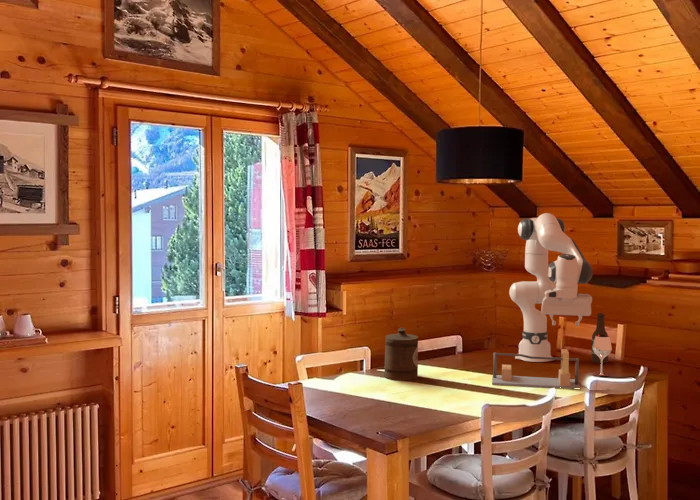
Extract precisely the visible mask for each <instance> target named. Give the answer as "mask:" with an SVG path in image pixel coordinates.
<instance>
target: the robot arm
mask: <svg viewBox="0 0 700 500" xmlns="http://www.w3.org/2000/svg"><path fill="white" fill-rule="evenodd" d="M565 232H566V227H565V222H564V220H563V219H561V218H557V217H556V216H555V215H554V214H552V213H549V212H545V213H542V214H540V215H539V216H538V217H531V218H528V217H527V218H523V219H521V220H520V221H519V224H518V226H517V233H518V237H519V238H520V239H521V240H524V241H526V242H525V249H524V268H525V270H526V271H527V273H530V275H532V276H534V277H536V281H533V280H532V281H530V280H529V281H525V280H524V281H523V280H521V281H517V282H513V283H512V284H511V285H510V287H509V291H508V294H509V297H510V299H511V301H512V302H514V303H515V304H516V305H517V306H518V307H519V308H520V311H521V313H522V317H523V318H522V319H523V330H522V339H521V340H520V342H519V343H518V353H517V354H523V355H527V356H532V357H553V356H552V355H551V343H550V342H549V341H548V335H549V334H548V330H547V329H548V327H547V325H548V324H547V322H548V318H547V315H549V318H550V319H551V325H552V326H556V325H557V321H556V320H554V315H555V316H557V315H558V316H577V317H578V320H577V321H576V320H575V324H574V326H575V327H580V322H581V321H582V320H583V317H590V316H591V315H592V302H593V296H592V295H590V294H589V293H582V292H581V293H579V292H578V286H579V285H580V284H581V285H585V284H587V283H589V281H590V280H591V279H592V278H593V267H592V265H591V264H590V263H589V262H588V260H587V259H586V258H585V256H584V255H583V253H582V251H581V250H580V248H579V246H578V245H577V243H576V242H575V240H574V239H573V238H571V237H569V236H568V235H567V234H566V233H565ZM550 251H551V252H558V253H561V254H559V255H558V256H557V259H556V260H555V261H552V262H550V263H549V252H550ZM578 284H579V285H578ZM536 304H538V305H540V304H541V306H540V307H541V308H540V309H541V310H539V309H537V308H536ZM514 359H515V360H516V359H517V360H522V361H524V362H533V363H535V362H536V363H544V362H546V363H547V362H551V361H553V360H549V359H530V358H526V357H522V356H514Z"/></svg>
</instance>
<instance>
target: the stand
mask: <svg viewBox="0 0 700 500" xmlns="http://www.w3.org/2000/svg"><path fill="white" fill-rule="evenodd" d="M497 353H498V352H493V358H492V359H493V362H492V363H493V368H492V369H493V370H492V371H493V372H492V373H493V374H492V376H491V377H492V380H491V384H492V385H491V386H506V387H507V386H508V387H527V388H541V389H542V388H546V389H552V388H551V387H555V388H554V389H559V388H560V387H561V388H580V389H581V386H580V383H579V376H580V375H579V373H580V369H579V366H580V359H579V358H578V357H577V358H575V359H576V361H574V362H575V365H574V370H575V371H574V378H571V373H570V370H569V369H568V374H562V371H561V368H560V369H558V377H555V378H554V377H541V376H539V377H538V376H524V375H522V376H521V375H512V364H501V374H498V375H497V361H498V360H497V359H498V355H497Z"/></svg>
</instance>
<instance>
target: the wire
mask: <svg viewBox="0 0 700 500" xmlns="http://www.w3.org/2000/svg"><path fill="white" fill-rule="evenodd" d="M496 353H497V356H506V357H507V356H509V357H515V356H522V357H526V358H530V359H549V360H552V361H561V360H563V358H561V357H553V356H552V357H532V356H527V355H523V354H518V353H505V352H502V353H501V352H496ZM569 361H570V362H571V361H574V362H575V361H576V359H575V358H572V357H571V358H570V357H569Z"/></svg>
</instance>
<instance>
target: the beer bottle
mask: <svg viewBox="0 0 700 500" xmlns="http://www.w3.org/2000/svg"><path fill="white" fill-rule="evenodd" d="M605 316H606V314H605V313H603V312H602V313H601V312H598V313H597V314H596V317H597V318H596V327H595V330H594V331H593V333H592V335H591V336H592V337H591V351H590V353H591V354H590V355H591V356H590V357H591V358H590V359H591V363H594V364H599V363H601V360H600V358H599V357H598V356H597V355H596V354H595V353H594V351H593V349H592V347H593V343H594V339H595V336H596V335H607V336H609V334H608V332H607V331H606V326H605V324H606V323H605ZM607 362H608V363H609V355H608V356H606V357H605V358H604V359H603V363H605V364H607Z"/></svg>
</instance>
